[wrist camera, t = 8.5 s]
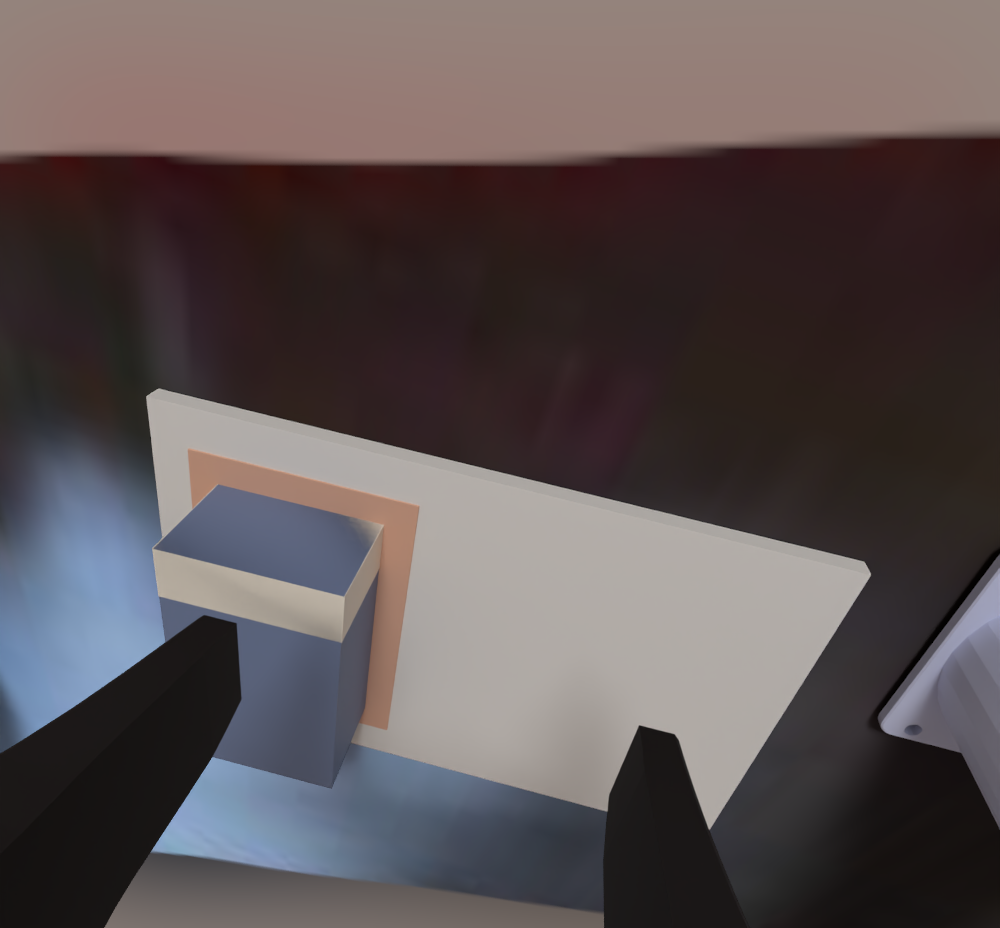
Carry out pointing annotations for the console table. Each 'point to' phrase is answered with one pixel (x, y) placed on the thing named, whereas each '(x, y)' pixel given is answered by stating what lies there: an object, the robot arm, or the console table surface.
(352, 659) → the card deck
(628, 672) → the mat
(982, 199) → the console table surface
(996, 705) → the robot arm
